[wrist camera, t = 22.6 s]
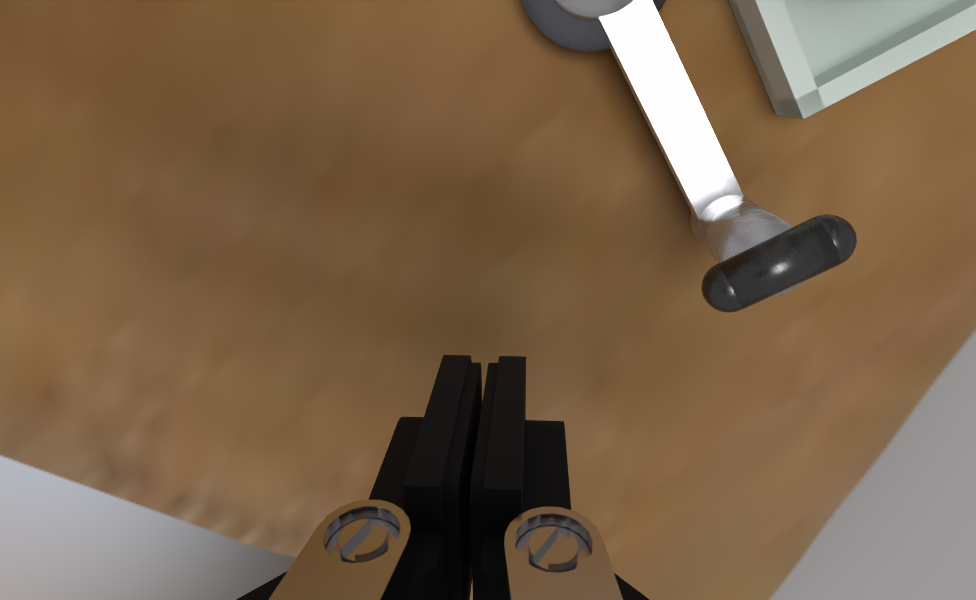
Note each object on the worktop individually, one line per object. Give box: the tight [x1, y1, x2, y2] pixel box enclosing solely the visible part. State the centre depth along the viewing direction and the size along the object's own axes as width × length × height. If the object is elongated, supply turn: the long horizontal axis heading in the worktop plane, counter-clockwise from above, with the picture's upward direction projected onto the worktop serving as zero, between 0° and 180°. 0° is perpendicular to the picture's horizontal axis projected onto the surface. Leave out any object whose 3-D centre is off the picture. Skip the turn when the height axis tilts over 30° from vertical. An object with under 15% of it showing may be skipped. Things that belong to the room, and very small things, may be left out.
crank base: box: [521, 0, 665, 53], centre depth 24 cm, size 16×6×2 cm, turn 30°
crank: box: [552, 0, 857, 312], centre depth 19 cm, size 14×5×8 cm, turn 31°
